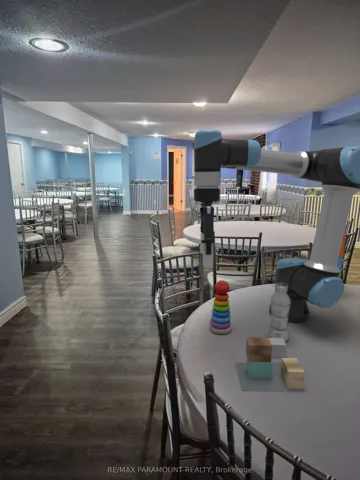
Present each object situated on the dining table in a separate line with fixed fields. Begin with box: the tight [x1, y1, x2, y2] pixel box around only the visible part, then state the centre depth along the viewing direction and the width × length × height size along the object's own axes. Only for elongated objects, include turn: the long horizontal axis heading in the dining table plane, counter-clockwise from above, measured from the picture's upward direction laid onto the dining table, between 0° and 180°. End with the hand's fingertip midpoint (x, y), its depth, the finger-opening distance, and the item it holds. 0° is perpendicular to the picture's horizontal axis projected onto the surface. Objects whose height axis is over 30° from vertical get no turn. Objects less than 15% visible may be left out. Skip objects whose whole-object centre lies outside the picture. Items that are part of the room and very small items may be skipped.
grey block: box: [268, 337, 288, 358], centre depth 93 cm, size 6×4×5 cm, turn 88°
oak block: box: [280, 357, 305, 390], centre depth 80 cm, size 6×4×5 cm, turn 178°
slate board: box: [234, 362, 305, 393], centre depth 82 cm, size 16×12×1 cm
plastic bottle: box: [268, 283, 291, 343], centre depth 100 cm, size 6×7×20 cm
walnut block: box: [245, 336, 272, 362], centre depth 82 cm, size 6×4×5 cm, turn 88°
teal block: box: [246, 357, 274, 379], centre depth 83 cm, size 6×4×5 cm, turn 88°
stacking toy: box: [209, 280, 232, 335], centre depth 107 cm, size 8×8×19 cm
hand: (206, 259), depth 90 cm, fingers open, 13 cm apart
